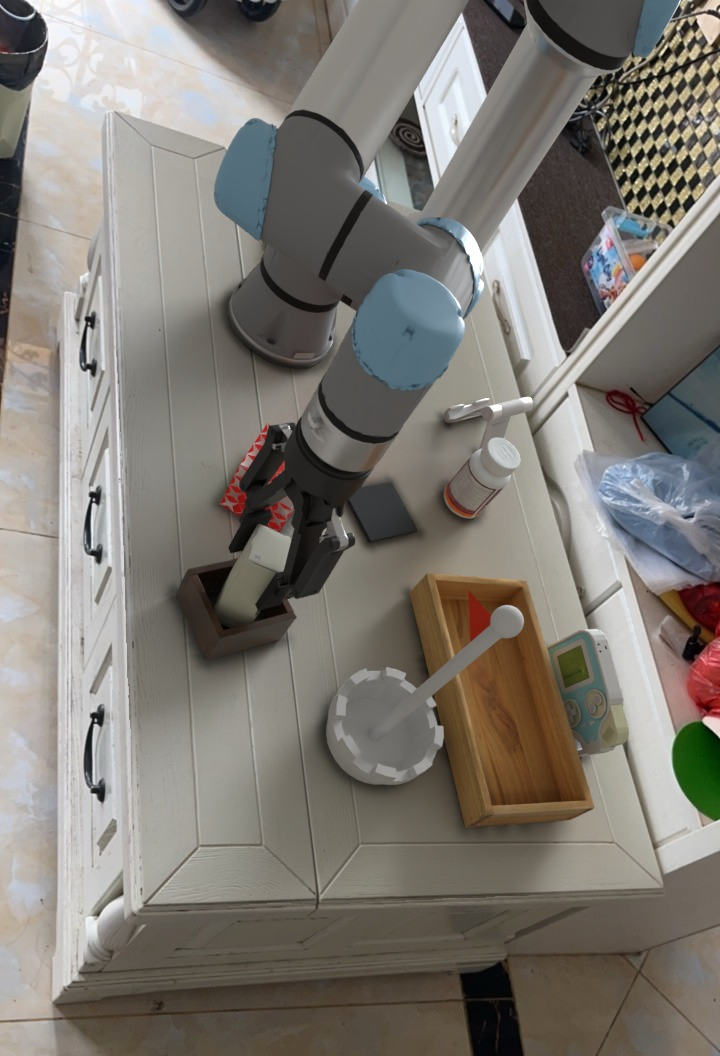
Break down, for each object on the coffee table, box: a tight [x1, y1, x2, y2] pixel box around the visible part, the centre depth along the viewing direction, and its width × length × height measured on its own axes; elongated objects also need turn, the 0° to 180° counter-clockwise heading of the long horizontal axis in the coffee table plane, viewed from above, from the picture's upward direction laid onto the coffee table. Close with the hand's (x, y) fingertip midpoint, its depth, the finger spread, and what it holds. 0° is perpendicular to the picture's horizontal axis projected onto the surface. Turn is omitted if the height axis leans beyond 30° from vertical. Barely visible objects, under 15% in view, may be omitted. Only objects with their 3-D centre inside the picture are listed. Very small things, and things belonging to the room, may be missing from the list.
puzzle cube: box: [219, 423, 295, 533], centre depth 106 cm, size 8×8×8 cm
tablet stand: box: [443, 396, 534, 449], centre depth 129 cm, size 9×8×8 cm
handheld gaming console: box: [546, 628, 630, 758], centre depth 110 cm, size 11×3×15 cm
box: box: [213, 524, 292, 629], centre depth 93 cm, size 5×4×13 cm
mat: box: [346, 481, 419, 544], centre depth 116 cm, size 8×8×1 cm
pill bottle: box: [443, 438, 521, 519], centre depth 120 cm, size 6×6×11 cm
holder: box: [174, 557, 297, 662], centre depth 97 cm, size 9×10×6 cm
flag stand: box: [325, 590, 524, 786], centre depth 88 cm, size 13×13×30 cm
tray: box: [409, 572, 596, 829], centre depth 107 cm, size 31×15×6 cm, turn 11°
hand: (254, 575), depth 92 cm, fingers closed on box, 6 cm apart
